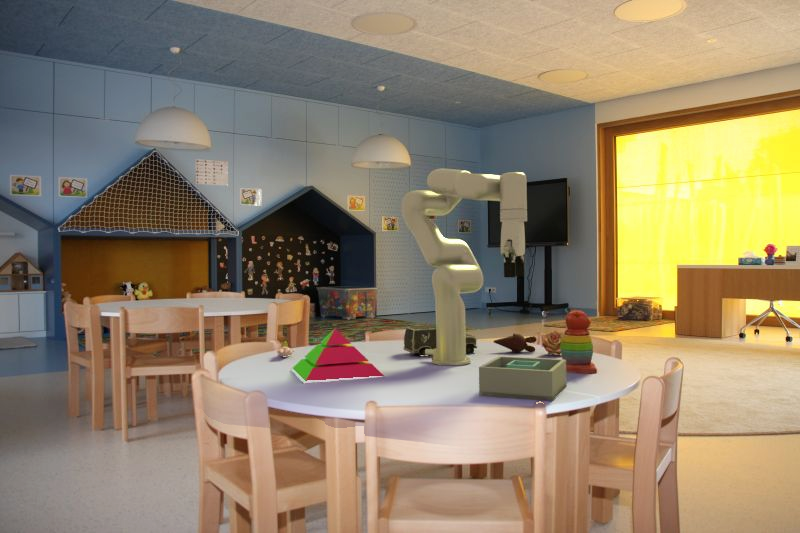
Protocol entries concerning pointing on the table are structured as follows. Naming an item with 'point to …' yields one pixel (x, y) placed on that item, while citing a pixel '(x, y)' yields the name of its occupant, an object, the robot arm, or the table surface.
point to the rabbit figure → (284, 350)
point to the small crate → (524, 365)
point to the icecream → (517, 343)
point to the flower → (552, 342)
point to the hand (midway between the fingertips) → (514, 276)
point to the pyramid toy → (335, 361)
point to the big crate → (522, 379)
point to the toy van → (428, 339)
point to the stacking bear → (577, 344)
